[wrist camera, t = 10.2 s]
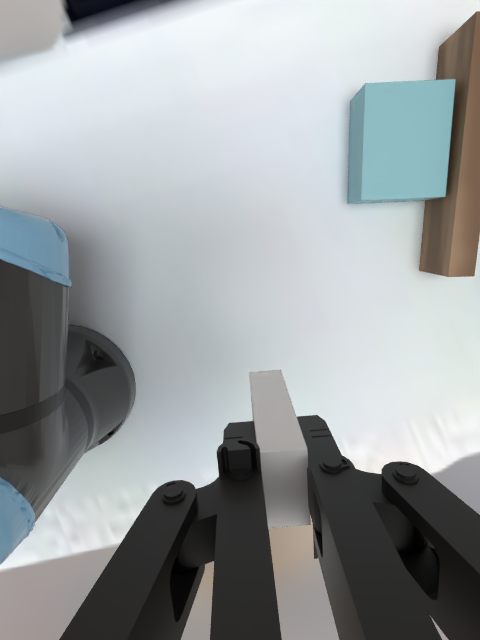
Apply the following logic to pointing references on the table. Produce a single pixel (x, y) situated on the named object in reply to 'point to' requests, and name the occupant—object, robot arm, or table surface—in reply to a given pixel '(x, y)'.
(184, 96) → the table surface
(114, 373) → the robot arm
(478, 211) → the board
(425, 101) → the block
